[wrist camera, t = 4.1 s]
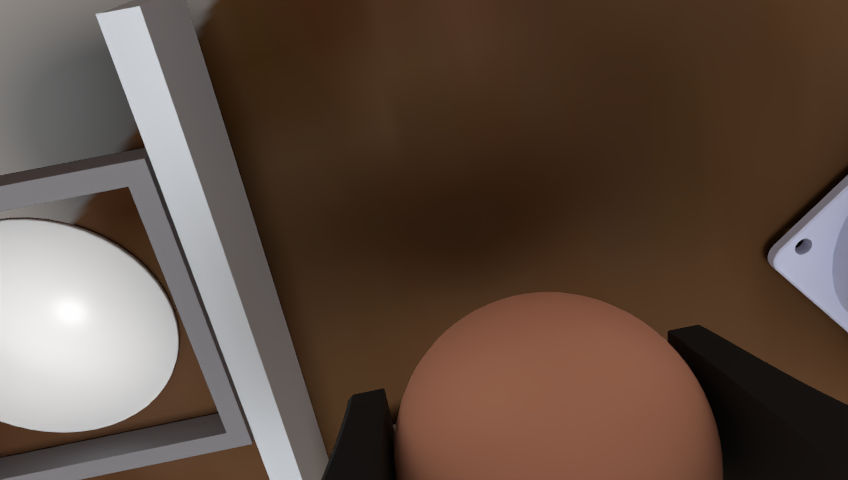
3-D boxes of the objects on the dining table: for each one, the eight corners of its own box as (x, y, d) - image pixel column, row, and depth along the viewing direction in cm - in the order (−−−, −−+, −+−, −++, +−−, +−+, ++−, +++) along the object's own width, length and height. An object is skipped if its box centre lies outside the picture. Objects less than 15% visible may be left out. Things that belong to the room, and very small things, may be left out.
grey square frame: (155, 145, 16) (144, 158, 15) (255, 421, 20) (252, 443, 20) (-214, 216, 16) (-247, 234, 15) (-37, 481, 20) (-54, 507, 19)
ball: (504, 187, 12) (613, 366, 7) (690, 327, 14) (877, 545, 9) (332, 384, 14) (326, 643, 9) (521, 486, 16) (603, 746, 11)
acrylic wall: (147, -5, 15) (96, 14, 12) (181, -12, 15) (139, 6, 12) (313, 489, 22) (308, 583, 19) (336, 484, 22) (335, 577, 19)
